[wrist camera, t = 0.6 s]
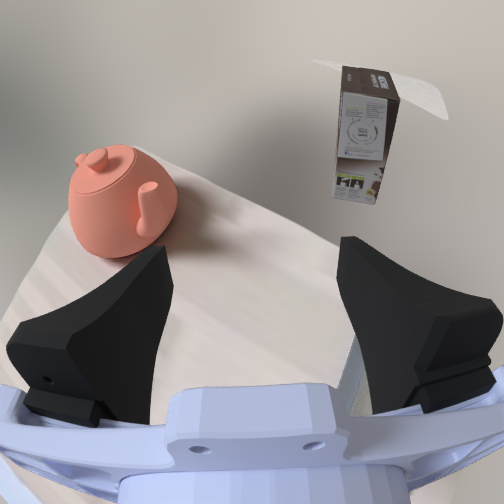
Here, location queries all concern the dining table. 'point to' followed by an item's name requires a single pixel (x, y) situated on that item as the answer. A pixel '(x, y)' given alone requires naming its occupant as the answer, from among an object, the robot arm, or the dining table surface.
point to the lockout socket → (361, 399)
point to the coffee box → (363, 133)
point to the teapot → (119, 201)
